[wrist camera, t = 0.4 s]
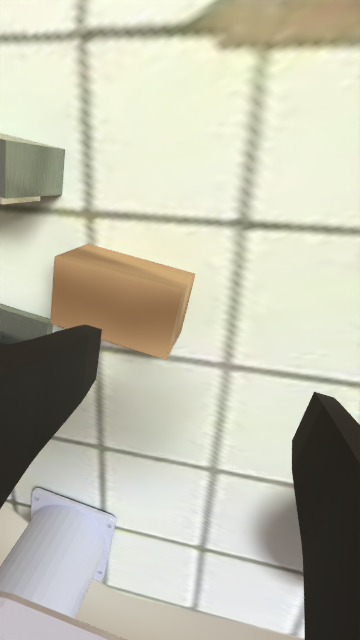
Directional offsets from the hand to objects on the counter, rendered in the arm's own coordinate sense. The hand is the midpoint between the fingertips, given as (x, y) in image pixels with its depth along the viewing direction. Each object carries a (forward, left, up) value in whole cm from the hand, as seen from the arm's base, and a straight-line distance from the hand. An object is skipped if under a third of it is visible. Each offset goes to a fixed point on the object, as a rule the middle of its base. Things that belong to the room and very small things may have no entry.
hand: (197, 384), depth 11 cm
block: (-1, +6, -10) cm, 12 cm away
